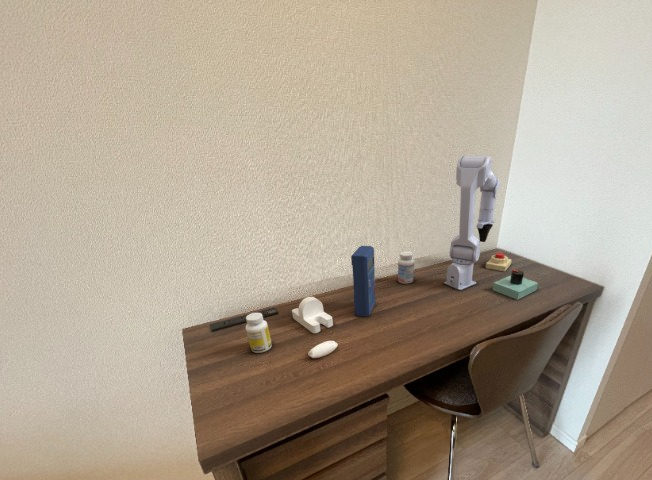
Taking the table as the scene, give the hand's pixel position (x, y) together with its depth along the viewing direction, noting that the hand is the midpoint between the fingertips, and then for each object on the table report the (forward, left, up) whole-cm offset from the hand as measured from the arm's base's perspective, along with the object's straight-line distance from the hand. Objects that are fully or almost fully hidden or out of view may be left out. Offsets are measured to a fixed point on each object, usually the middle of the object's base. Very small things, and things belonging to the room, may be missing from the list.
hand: (482, 241), depth 135 cm
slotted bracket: (-79, +1, -10) cm, 80 cm away
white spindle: (-84, -16, -10) cm, 87 cm away
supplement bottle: (-96, -3, -10) cm, 97 cm away
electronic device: (-62, -3, -10) cm, 63 cm away
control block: (+4, -7, -10) cm, 13 cm away
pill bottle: (-37, +6, -10) cm, 39 cm away
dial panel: (-12, -25, -10) cm, 30 cm away
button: (+4, -7, -6) cm, 10 cm away
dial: (-12, -25, -7) cm, 29 cm away
